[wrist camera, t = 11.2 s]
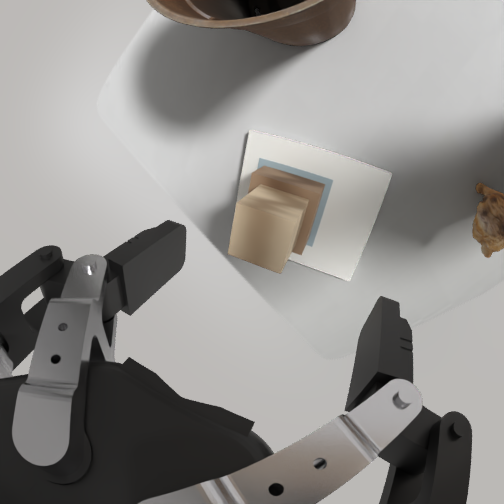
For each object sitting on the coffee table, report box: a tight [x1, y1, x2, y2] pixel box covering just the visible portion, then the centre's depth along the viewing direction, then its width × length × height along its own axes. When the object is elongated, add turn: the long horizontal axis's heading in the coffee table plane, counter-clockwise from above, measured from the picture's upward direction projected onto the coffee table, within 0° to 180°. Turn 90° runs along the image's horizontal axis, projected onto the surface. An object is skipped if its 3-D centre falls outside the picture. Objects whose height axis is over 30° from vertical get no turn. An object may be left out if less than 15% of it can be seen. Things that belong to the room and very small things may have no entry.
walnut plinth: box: [248, 166, 325, 255], centre depth 30 cm, size 7×7×4 cm
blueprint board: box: [230, 130, 392, 282], centre depth 32 cm, size 16×14×1 cm
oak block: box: [228, 184, 309, 274], centre depth 26 cm, size 5×5×6 cm
